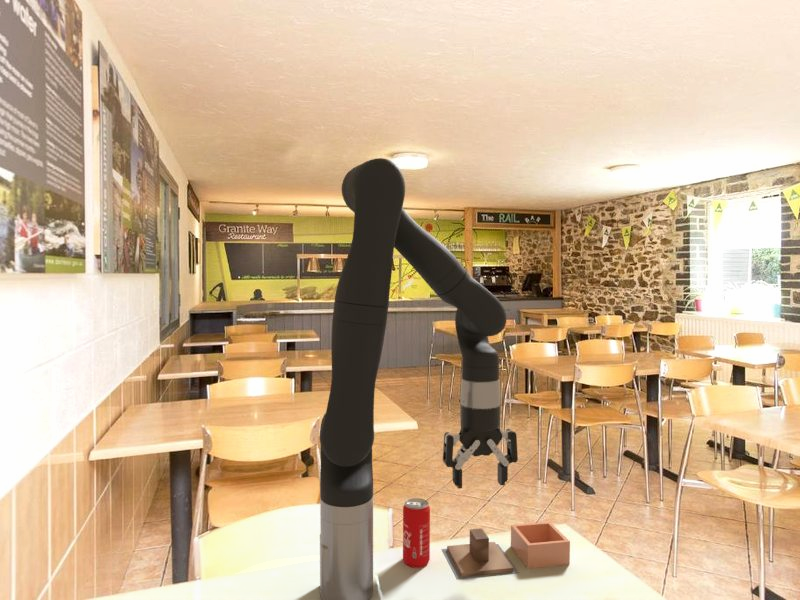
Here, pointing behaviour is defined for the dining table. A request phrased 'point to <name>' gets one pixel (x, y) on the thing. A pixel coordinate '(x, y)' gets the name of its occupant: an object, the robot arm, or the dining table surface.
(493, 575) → the mat
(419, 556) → the beverage can
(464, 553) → the lid
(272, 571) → the dining table surface
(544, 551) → the open salmon box
